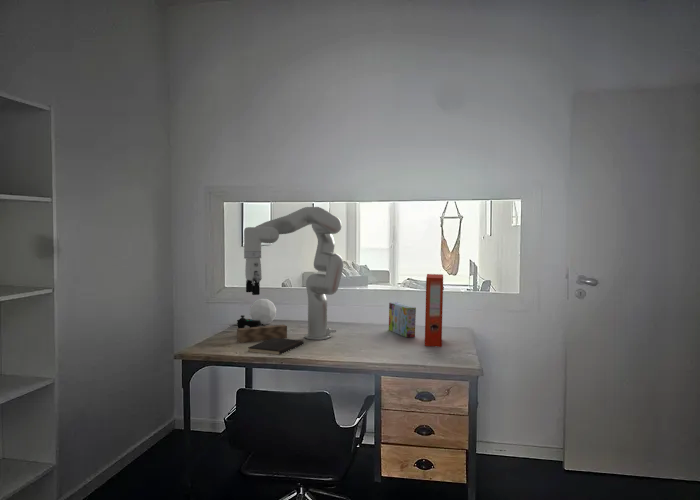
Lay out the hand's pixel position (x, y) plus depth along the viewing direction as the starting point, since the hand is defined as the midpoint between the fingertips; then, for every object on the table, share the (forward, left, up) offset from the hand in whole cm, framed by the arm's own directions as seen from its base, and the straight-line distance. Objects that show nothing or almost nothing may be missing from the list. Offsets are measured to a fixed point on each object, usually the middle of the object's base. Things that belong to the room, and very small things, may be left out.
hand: (252, 293), depth 260 cm
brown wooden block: (-11, -20, -26) cm, 34 cm away
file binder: (-82, +23, -26) cm, 89 cm away
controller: (-8, -31, -26) cm, 41 cm away
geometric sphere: (-25, -58, -26) cm, 68 cm away
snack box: (-80, -2, -26) cm, 84 cm away
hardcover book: (-11, 0, -26) cm, 29 cm away
